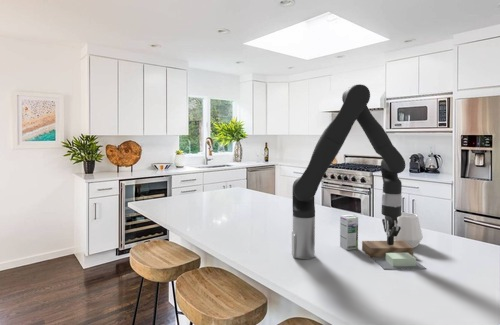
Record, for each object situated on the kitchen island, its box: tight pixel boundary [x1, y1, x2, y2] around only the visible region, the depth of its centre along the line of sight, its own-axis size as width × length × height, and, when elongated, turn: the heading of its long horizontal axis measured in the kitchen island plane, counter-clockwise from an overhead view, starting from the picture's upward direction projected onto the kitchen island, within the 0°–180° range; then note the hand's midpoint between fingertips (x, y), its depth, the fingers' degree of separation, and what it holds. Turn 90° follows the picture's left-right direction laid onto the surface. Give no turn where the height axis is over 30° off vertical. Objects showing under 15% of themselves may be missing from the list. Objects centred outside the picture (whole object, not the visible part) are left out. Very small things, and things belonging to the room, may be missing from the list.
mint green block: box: [386, 253, 417, 266], centre depth 124 cm, size 9×6×3 cm, turn 91°
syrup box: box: [339, 214, 359, 251], centre depth 142 cm, size 6×6×14 cm
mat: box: [372, 257, 427, 270], centre depth 125 cm, size 16×11×1 cm
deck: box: [361, 240, 415, 259], centre depth 135 cm, size 18×9×4 cm, turn 90°
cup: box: [394, 211, 423, 248], centre depth 146 cm, size 13×13×14 cm
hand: (390, 244), depth 132 cm, fingers closed
